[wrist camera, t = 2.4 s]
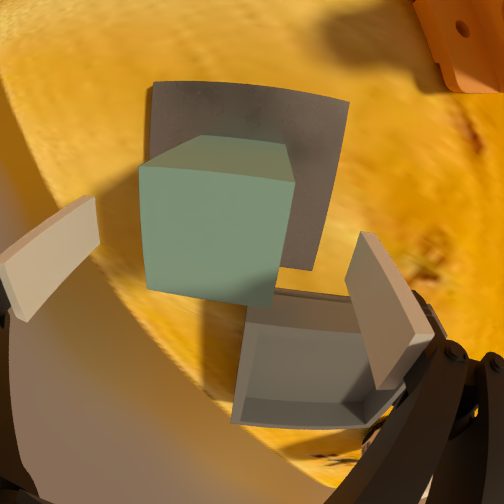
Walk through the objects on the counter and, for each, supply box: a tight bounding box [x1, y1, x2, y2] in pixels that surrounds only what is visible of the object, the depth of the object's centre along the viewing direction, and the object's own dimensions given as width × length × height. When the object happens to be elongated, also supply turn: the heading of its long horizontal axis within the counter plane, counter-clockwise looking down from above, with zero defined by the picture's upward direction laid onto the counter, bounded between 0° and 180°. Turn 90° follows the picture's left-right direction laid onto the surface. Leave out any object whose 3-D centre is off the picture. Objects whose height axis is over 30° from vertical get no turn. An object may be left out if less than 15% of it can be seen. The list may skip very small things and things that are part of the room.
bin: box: [230, 288, 447, 430], centre depth 29 cm, size 20×20×5 cm
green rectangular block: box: [139, 135, 295, 309], centre depth 16 cm, size 6×6×10 cm
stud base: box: [149, 81, 350, 271], centre depth 18 cm, size 14×14×6 cm
